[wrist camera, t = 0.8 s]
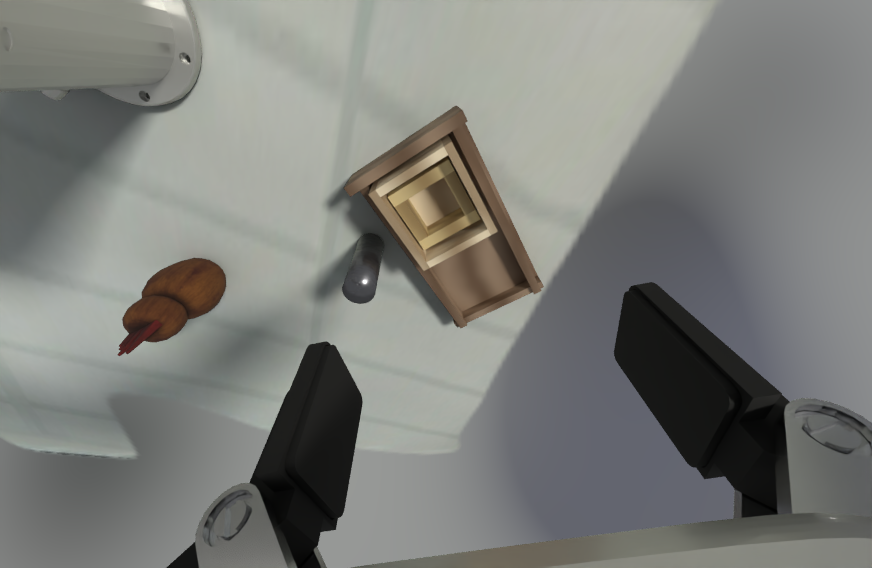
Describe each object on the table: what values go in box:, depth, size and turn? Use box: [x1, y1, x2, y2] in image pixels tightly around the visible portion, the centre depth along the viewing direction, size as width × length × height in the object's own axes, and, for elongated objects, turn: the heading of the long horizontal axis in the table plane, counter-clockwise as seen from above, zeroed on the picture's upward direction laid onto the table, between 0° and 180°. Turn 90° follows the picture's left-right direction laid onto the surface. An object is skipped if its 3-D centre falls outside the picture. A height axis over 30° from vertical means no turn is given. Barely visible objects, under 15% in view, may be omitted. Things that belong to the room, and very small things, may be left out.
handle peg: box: [342, 233, 384, 304], centre depth 35 cm, size 3×3×10 cm
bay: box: [344, 106, 544, 328], centre depth 37 cm, size 13×24×5 cm, turn 30°
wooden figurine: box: [118, 258, 226, 356], centre depth 34 cm, size 7×6×15 cm
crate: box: [368, 134, 498, 271], centre depth 33 cm, size 9×10×5 cm
